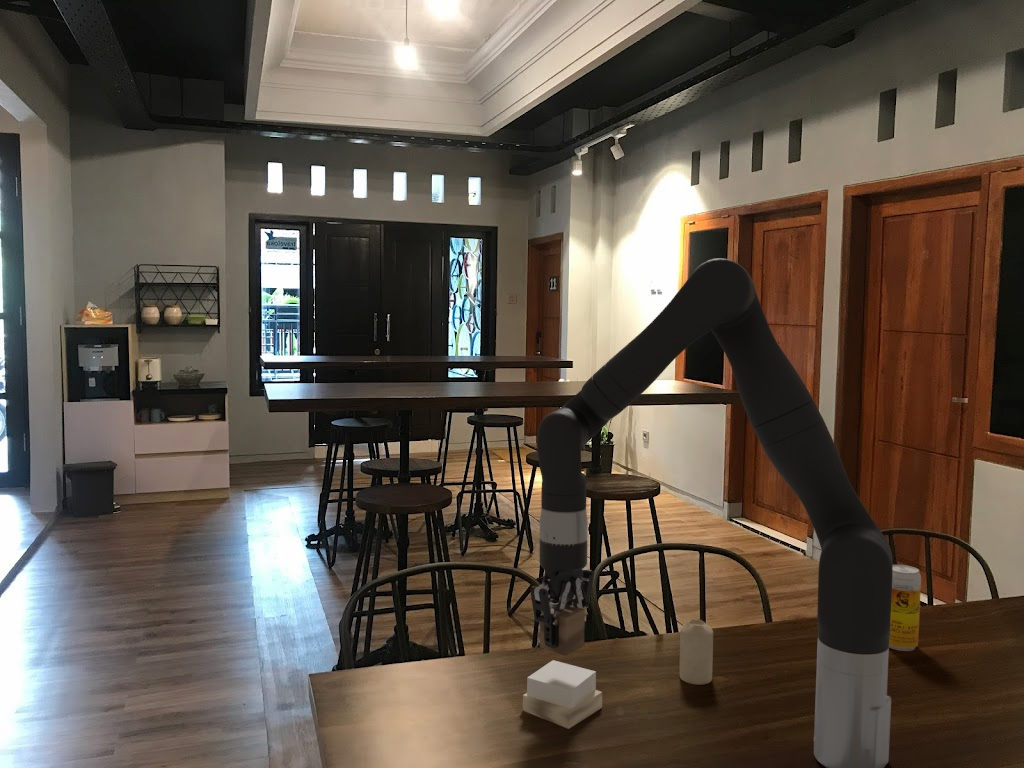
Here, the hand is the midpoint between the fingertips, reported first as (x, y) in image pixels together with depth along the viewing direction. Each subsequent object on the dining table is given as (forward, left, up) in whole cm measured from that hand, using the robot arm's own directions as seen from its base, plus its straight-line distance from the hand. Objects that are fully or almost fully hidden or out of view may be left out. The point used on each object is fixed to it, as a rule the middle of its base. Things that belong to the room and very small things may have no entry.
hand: (562, 640), depth 132 cm
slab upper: (0, 0, -9) cm, 9 cm away
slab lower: (0, 0, -12) cm, 12 cm away
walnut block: (0, 0, -1) cm, 1 cm away
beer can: (-34, -62, -11) cm, 72 cm away
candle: (-11, -24, -11) cm, 29 cm away
